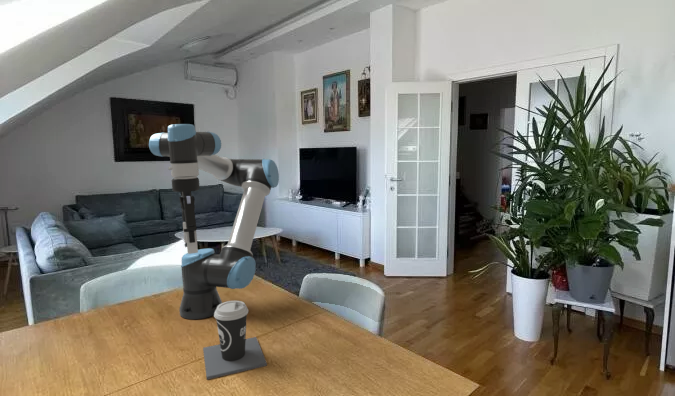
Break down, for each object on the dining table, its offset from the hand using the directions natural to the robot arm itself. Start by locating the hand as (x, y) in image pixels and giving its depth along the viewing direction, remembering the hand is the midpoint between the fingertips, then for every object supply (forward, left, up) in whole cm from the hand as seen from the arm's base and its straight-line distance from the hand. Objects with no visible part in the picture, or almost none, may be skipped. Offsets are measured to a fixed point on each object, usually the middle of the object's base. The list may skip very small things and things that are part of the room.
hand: (190, 247), depth 114 cm
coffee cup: (+13, +10, -30) cm, 34 cm away
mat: (+13, +10, -31) cm, 35 cm away
